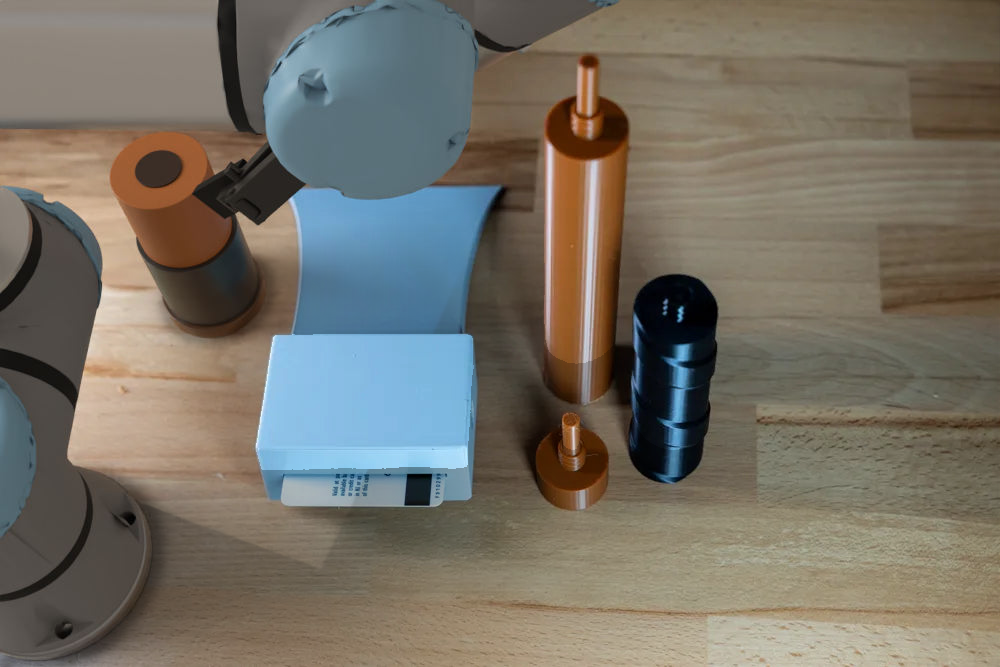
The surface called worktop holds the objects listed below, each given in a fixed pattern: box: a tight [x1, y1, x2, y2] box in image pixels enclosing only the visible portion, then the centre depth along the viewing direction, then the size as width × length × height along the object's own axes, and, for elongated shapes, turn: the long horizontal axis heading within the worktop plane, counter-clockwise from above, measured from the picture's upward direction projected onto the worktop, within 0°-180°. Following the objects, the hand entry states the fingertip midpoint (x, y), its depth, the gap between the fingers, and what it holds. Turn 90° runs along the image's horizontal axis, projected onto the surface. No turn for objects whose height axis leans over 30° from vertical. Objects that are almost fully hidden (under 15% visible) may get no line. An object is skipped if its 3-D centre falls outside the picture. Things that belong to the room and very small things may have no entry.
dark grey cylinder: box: [135, 213, 267, 339], centre depth 102 cm, size 9×9×10 cm
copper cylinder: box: [109, 131, 232, 268], centre depth 94 cm, size 8×8×8 cm
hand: (257, 127), depth 81 cm, fingers open, 13 cm apart
